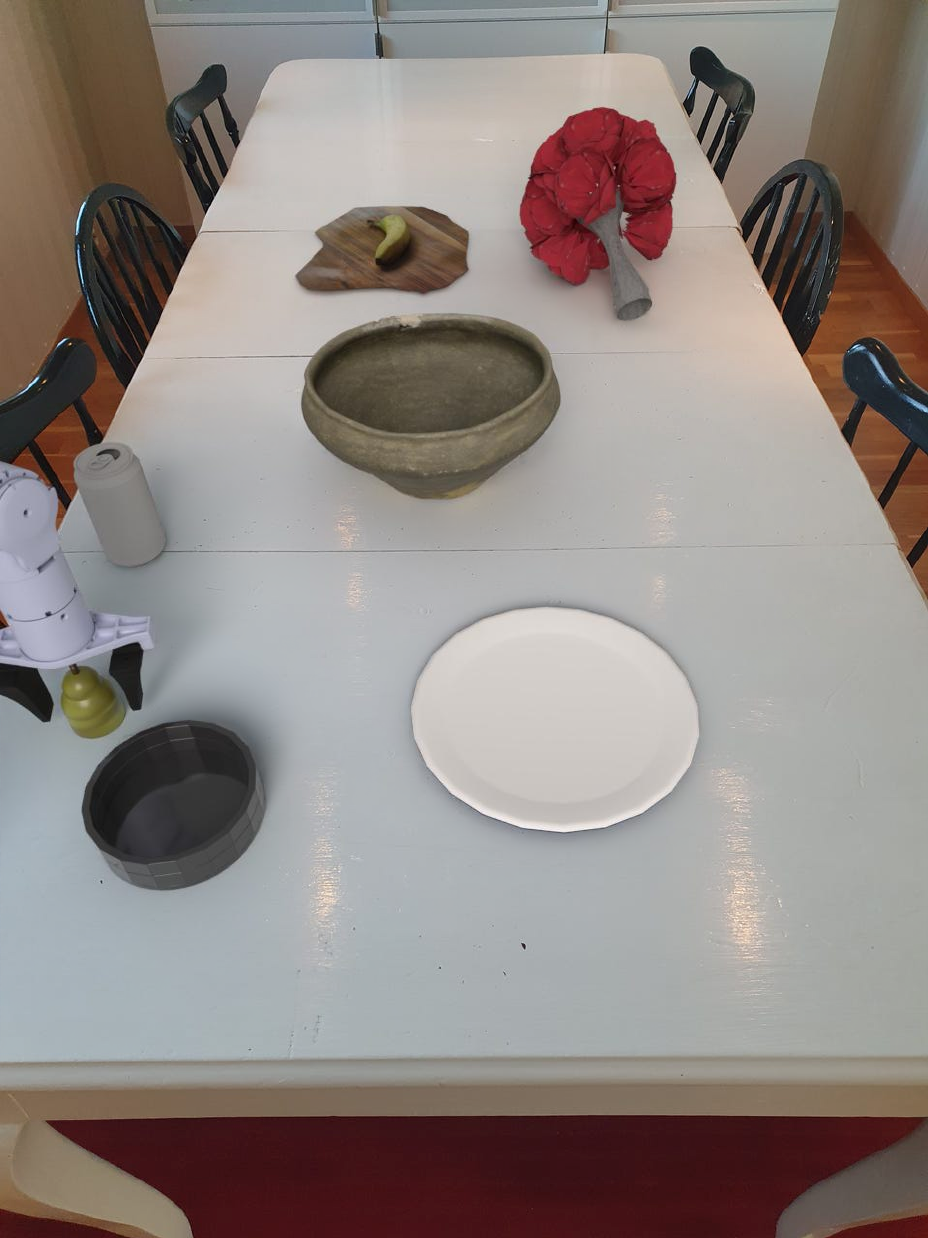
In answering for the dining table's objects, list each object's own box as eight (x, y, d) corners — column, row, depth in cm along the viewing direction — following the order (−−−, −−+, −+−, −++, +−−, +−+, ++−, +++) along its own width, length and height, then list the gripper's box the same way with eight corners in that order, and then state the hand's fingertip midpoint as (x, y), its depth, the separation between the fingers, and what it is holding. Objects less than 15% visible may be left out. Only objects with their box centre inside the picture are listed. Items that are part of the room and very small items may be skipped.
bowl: (603, 493, 102) (615, 382, 92) (385, 583, 92) (372, 469, 82) (473, 383, 119) (472, 279, 109) (278, 449, 109) (256, 341, 99)
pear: (87, 748, 78) (58, 692, 73) (62, 718, 81) (32, 662, 75) (134, 718, 80) (109, 662, 75) (109, 690, 83) (83, 634, 77)
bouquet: (688, 337, 140) (631, 177, 147) (738, 235, 117) (668, 52, 124) (553, 365, 138) (503, 202, 145) (578, 268, 115) (516, 79, 122)
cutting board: (468, 296, 136) (467, 271, 134) (288, 298, 137) (284, 273, 134) (471, 205, 161) (470, 183, 158) (318, 207, 162) (315, 185, 159)
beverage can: (179, 538, 98) (149, 444, 89) (146, 576, 94) (111, 482, 85) (129, 526, 99) (95, 434, 91) (94, 564, 95) (55, 470, 87)
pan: (152, 925, 67) (136, 898, 64) (68, 814, 73) (51, 786, 71) (297, 816, 73) (289, 788, 70) (207, 724, 80) (197, 694, 77)
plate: (497, 582, 92) (497, 573, 91) (737, 673, 83) (740, 663, 82) (355, 757, 77) (353, 749, 76) (628, 892, 68) (630, 884, 67)
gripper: (139, 550, 73) (180, 663, 83) (-47, 572, 72) (16, 684, 81) (130, 611, 68) (175, 723, 78) (-71, 635, 67) (0, 746, 76)
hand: (93, 707), depth 79 cm, fingers open, 7 cm apart
